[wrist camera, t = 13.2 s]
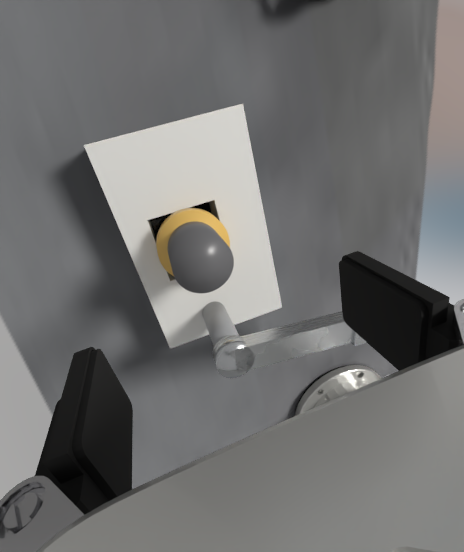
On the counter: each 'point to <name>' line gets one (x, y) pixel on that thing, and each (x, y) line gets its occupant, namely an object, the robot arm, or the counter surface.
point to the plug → (195, 250)
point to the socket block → (184, 194)
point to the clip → (281, 344)
